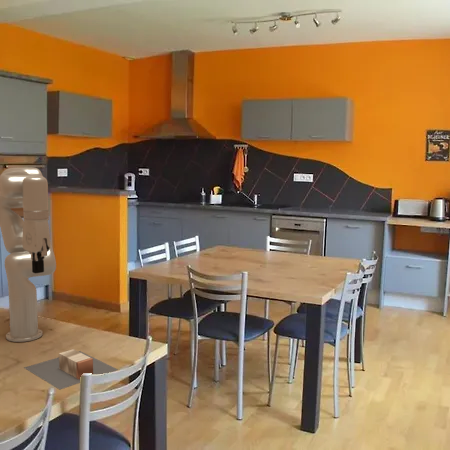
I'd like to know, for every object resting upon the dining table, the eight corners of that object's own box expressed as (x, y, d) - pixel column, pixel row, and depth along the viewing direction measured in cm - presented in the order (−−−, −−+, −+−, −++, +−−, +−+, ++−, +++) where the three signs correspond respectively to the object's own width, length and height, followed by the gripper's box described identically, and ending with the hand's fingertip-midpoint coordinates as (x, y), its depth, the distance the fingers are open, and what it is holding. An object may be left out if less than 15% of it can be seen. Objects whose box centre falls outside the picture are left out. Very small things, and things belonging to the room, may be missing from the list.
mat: (23, 369, 167) (23, 367, 167) (80, 352, 181) (80, 350, 181) (59, 391, 152) (59, 389, 152) (118, 371, 167) (118, 369, 166)
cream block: (58, 353, 166) (78, 363, 158) (73, 349, 170) (92, 358, 162) (59, 368, 167) (78, 379, 159) (73, 364, 170) (93, 374, 163)
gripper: (13, 214, 171) (16, 270, 174) (36, 219, 161) (38, 278, 164) (35, 212, 177) (37, 267, 179) (59, 217, 167) (60, 274, 169)
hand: (38, 272), depth 172 cm, fingers closed
